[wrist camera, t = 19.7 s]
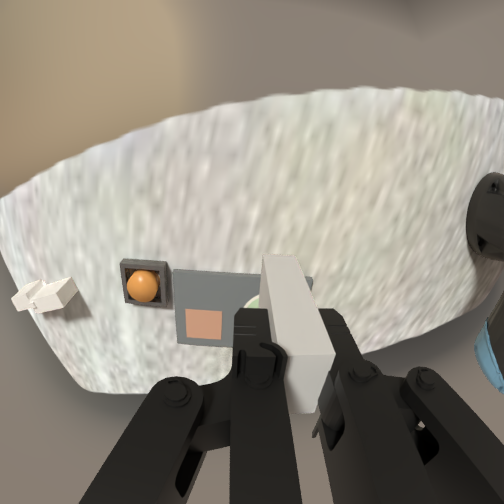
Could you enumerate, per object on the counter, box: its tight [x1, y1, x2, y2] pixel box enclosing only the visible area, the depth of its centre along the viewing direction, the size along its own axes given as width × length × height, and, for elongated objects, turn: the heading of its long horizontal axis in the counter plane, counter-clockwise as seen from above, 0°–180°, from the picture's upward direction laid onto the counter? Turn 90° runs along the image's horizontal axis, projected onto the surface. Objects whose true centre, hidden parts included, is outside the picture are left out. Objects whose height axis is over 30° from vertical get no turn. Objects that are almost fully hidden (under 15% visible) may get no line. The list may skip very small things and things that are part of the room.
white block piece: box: [11, 277, 78, 314], centre depth 33 cm, size 15×11×6 cm
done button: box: [127, 269, 160, 302], centre depth 34 cm, size 4×4×2 cm
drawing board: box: [173, 269, 313, 347], centre depth 38 cm, size 18×12×1 cm, turn 85°
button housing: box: [120, 259, 169, 307], centre depth 35 cm, size 6×6×2 cm
